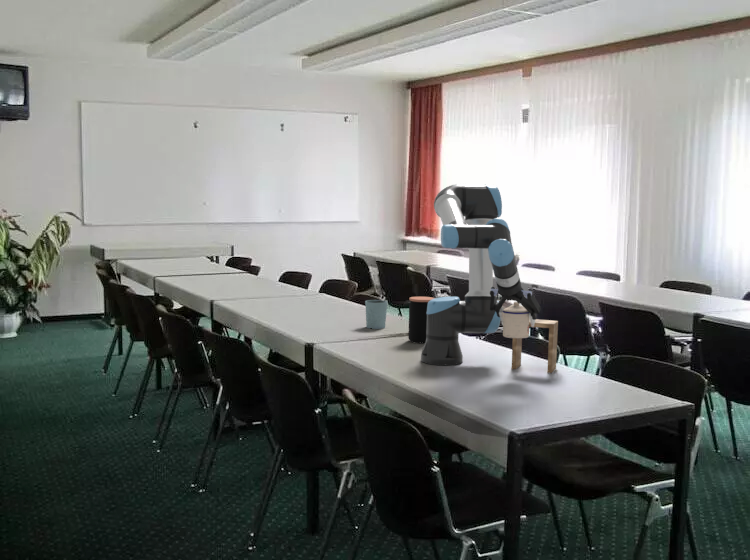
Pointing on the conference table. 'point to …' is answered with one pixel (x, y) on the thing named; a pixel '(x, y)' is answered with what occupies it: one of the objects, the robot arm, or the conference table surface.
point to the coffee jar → (418, 319)
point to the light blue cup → (376, 313)
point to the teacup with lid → (515, 321)
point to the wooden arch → (551, 349)
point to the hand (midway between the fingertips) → (518, 322)
